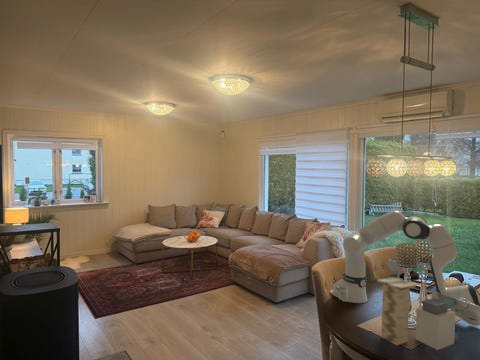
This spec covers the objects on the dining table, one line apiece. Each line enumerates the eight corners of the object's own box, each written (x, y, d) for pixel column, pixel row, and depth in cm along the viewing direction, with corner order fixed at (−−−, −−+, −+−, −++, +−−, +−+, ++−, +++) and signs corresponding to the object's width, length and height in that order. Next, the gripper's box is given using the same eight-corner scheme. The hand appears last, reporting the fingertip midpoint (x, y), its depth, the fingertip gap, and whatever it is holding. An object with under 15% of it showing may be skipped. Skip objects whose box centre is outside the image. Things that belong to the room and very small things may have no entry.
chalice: (390, 276, 236) (390, 255, 236) (411, 281, 227) (412, 259, 227) (384, 281, 225) (385, 259, 225) (406, 286, 217) (407, 263, 216)
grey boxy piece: (422, 309, 146) (422, 300, 146) (446, 302, 154) (446, 294, 154) (435, 315, 141) (436, 305, 141) (460, 307, 149) (460, 299, 149)
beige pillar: (375, 335, 150) (377, 279, 149) (390, 331, 155) (392, 276, 154) (398, 348, 139) (400, 288, 139) (413, 343, 144) (416, 284, 143)
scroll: (414, 281, 227) (415, 252, 226) (392, 275, 238) (393, 248, 238) (422, 277, 236) (423, 249, 236) (402, 272, 248) (403, 245, 247)
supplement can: (431, 274, 244) (432, 254, 243) (438, 277, 235) (439, 257, 235) (420, 274, 243) (421, 254, 243) (427, 277, 235) (428, 257, 235)
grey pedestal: (415, 339, 148) (416, 308, 147) (431, 333, 153) (433, 303, 153) (437, 350, 139) (438, 317, 138) (454, 343, 144) (455, 312, 144)
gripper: (441, 294, 165) (427, 283, 159) (487, 309, 147) (473, 298, 141) (437, 305, 164) (423, 295, 158) (483, 323, 145) (468, 312, 140)
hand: (447, 297), depth 149 cm, fingers open, 8 cm apart
